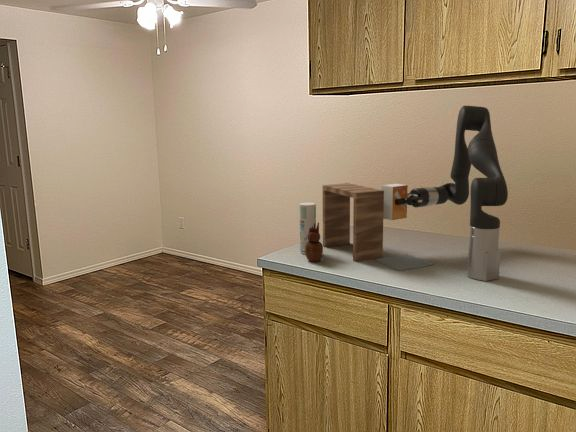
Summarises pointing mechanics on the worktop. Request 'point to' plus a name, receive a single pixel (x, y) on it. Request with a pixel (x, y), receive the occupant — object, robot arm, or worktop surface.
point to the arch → (354, 219)
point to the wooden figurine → (314, 245)
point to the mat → (403, 262)
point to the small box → (389, 201)
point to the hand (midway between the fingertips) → (389, 200)
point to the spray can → (306, 222)
